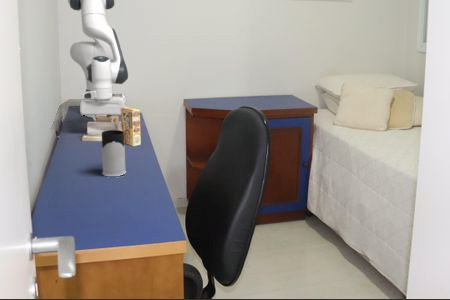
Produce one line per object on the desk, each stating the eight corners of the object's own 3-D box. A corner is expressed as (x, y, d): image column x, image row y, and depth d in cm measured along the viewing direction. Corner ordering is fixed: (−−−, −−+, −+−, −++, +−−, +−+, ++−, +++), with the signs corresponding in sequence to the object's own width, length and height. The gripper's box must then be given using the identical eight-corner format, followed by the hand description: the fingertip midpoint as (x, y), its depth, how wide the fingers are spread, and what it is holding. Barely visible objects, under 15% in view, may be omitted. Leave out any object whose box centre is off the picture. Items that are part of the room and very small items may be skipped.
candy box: (141, 145, 229) (140, 109, 225) (133, 146, 226) (132, 110, 222) (129, 141, 235) (128, 106, 231) (121, 142, 232) (120, 107, 228)
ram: (101, 126, 255) (100, 101, 252) (118, 126, 255) (117, 101, 252) (99, 128, 249) (98, 103, 246) (116, 129, 249) (115, 103, 246)
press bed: (94, 128, 257) (93, 113, 255) (127, 129, 257) (127, 113, 255) (82, 140, 234) (81, 124, 232) (118, 141, 234) (118, 124, 232)
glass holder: (102, 178, 184) (100, 136, 180) (100, 166, 197) (98, 127, 193) (128, 176, 186) (126, 134, 182) (124, 165, 199) (122, 125, 196)
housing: (99, 128, 244) (99, 115, 242) (110, 128, 244) (110, 115, 242) (97, 131, 239) (97, 117, 238) (108, 131, 239) (108, 118, 238)
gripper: (127, 92, 240) (128, 123, 244) (81, 92, 240) (83, 122, 244) (125, 95, 234) (126, 126, 238) (78, 94, 234) (79, 125, 238)
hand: (104, 124), depth 241 cm, fingers closed on housing, 5 cm apart
